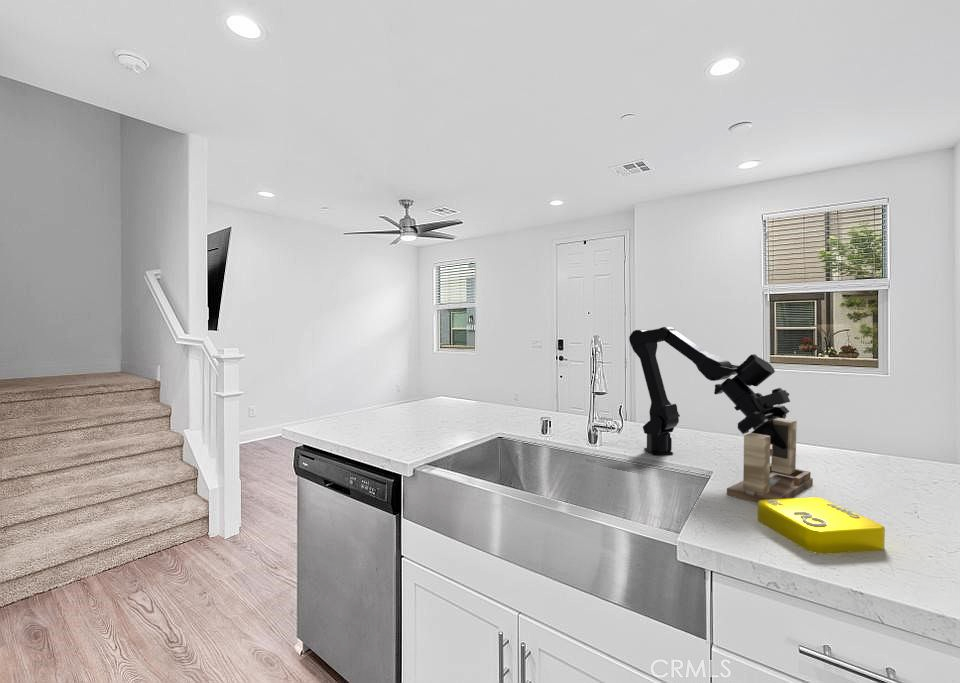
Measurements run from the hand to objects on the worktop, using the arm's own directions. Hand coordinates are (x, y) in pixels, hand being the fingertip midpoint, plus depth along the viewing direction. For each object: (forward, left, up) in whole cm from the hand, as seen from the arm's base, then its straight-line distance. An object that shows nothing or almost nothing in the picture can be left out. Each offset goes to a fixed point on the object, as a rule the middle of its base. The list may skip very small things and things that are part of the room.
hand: (789, 446), depth 112 cm
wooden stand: (-7, -3, -9) cm, 12 cm away
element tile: (-16, -24, -10) cm, 31 cm away
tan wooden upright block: (0, +1, -7) cm, 7 cm away
